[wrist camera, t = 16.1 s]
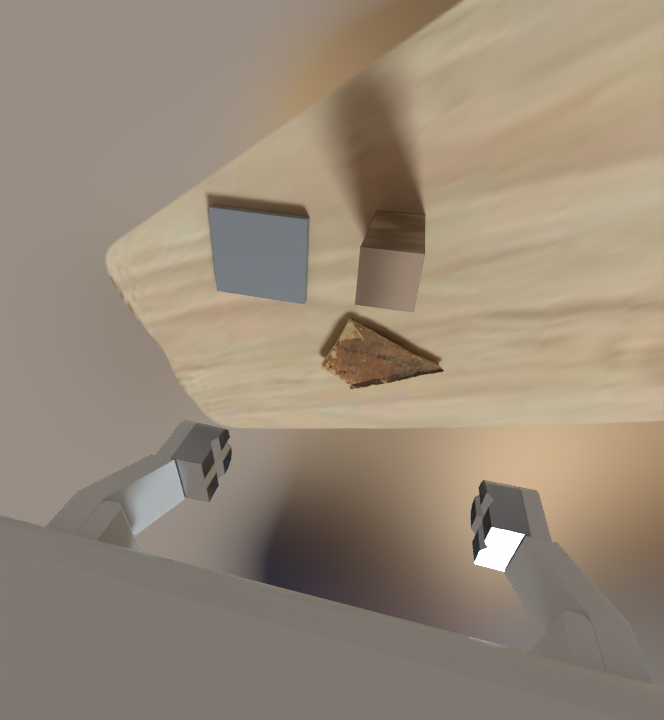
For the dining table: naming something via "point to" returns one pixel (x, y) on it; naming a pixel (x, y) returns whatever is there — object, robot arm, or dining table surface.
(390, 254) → the walnut block
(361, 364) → the shard
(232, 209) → the slate board
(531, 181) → the dining table surface
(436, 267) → the dining table surface
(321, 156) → the dining table surface
